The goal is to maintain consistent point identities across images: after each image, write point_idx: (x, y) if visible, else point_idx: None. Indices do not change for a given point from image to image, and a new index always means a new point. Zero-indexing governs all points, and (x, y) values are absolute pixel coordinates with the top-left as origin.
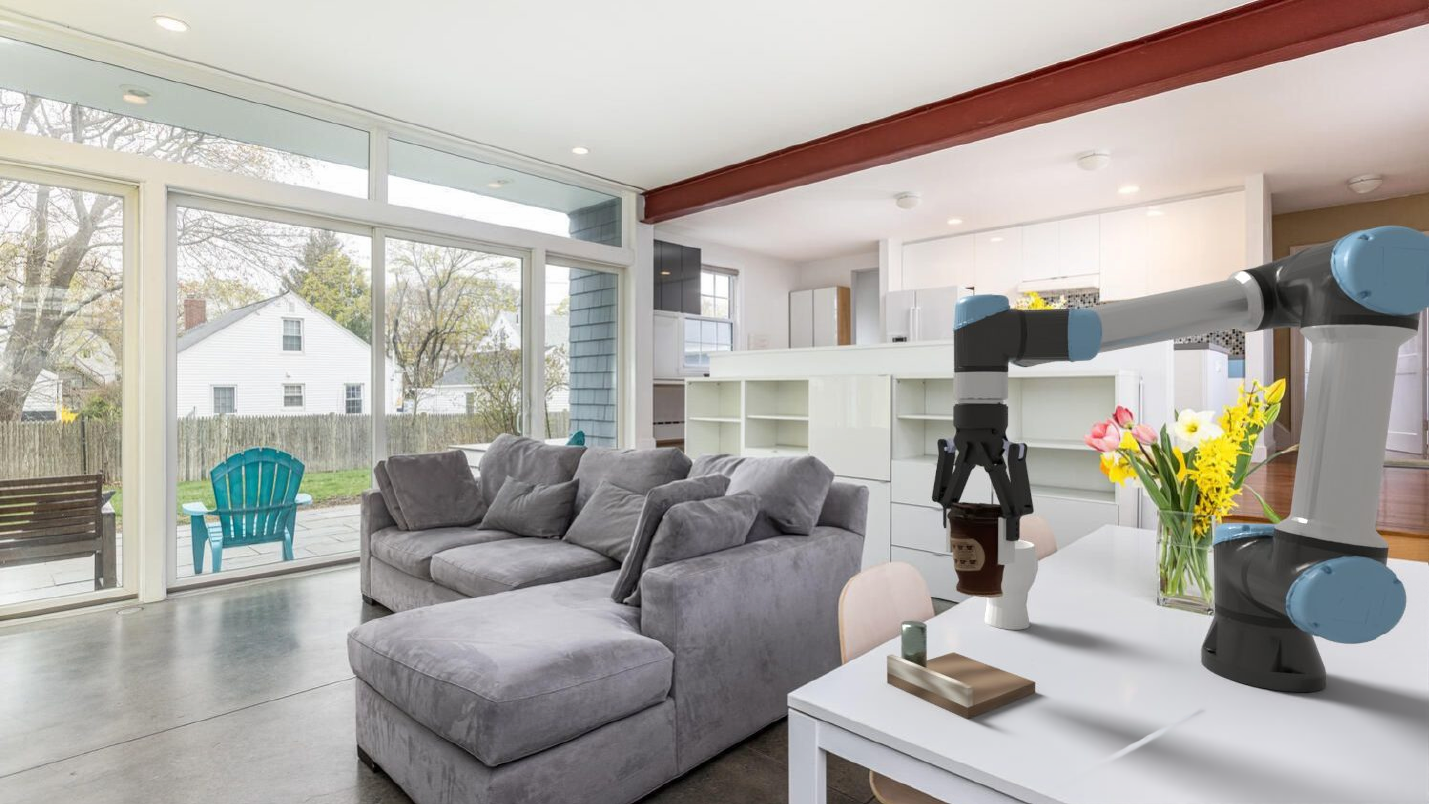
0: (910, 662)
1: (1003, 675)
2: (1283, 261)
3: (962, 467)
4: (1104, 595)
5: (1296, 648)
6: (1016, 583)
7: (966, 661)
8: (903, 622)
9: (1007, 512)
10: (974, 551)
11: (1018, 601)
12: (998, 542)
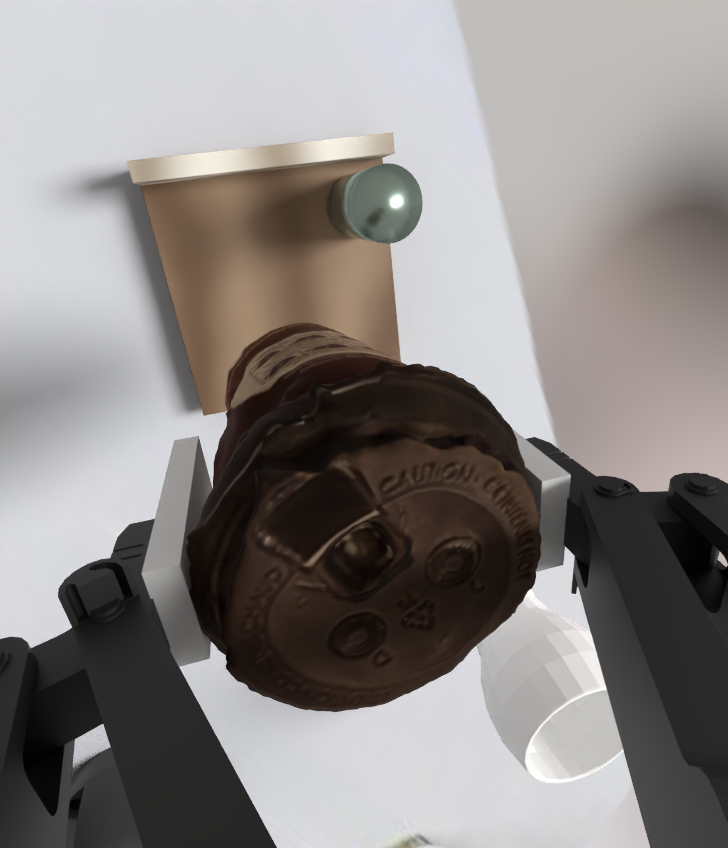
0: (328, 156)
1: None
2: None
3: (705, 813)
4: (490, 799)
5: None
6: (492, 653)
7: None
8: (415, 188)
9: (98, 616)
10: (260, 376)
11: None
12: (189, 481)
